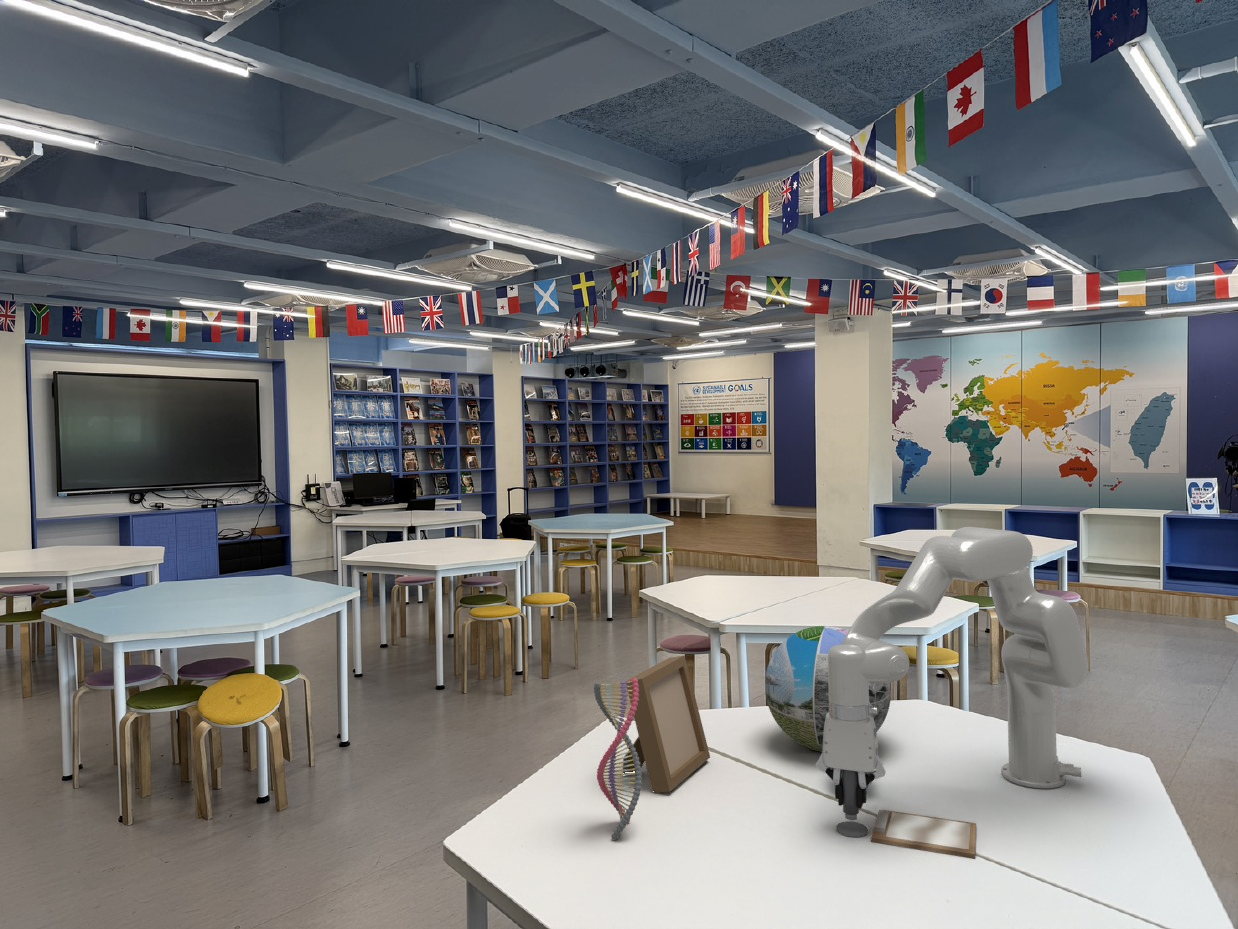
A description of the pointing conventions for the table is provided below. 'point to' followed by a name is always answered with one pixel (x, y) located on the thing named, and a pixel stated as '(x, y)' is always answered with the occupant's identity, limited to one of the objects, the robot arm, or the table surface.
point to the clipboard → (925, 833)
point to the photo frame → (667, 725)
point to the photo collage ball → (810, 685)
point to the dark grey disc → (852, 829)
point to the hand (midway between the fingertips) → (850, 803)
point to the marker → (850, 794)
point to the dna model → (613, 748)
